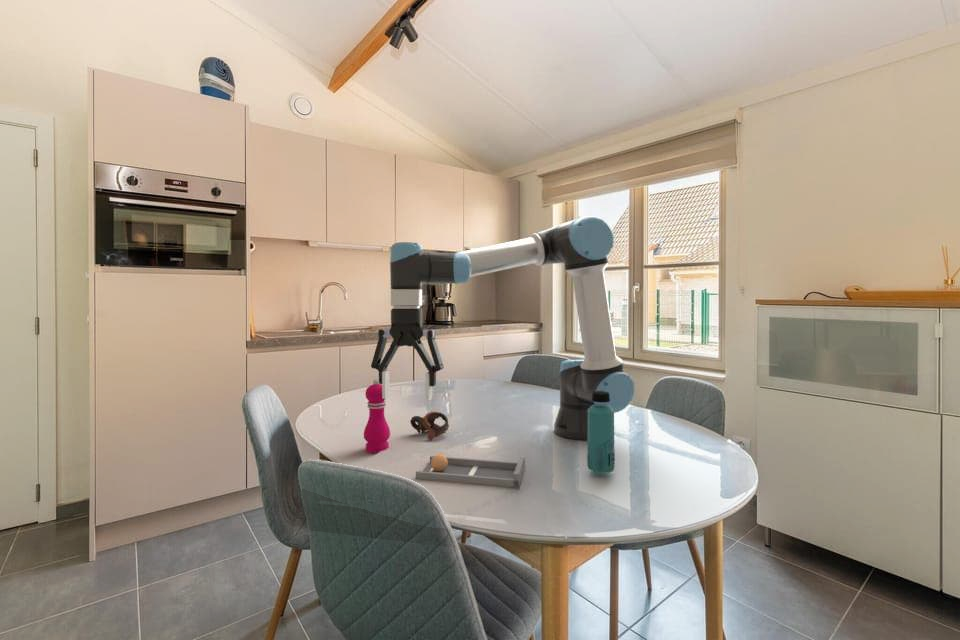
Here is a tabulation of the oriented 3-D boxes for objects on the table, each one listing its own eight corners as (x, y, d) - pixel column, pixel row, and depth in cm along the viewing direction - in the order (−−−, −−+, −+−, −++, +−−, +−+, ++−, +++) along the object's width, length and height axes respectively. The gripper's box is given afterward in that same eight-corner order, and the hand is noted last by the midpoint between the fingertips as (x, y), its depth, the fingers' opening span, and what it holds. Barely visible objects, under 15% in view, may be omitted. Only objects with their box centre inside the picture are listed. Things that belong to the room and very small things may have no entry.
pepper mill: (367, 455, 120) (366, 382, 119) (361, 447, 127) (360, 377, 126) (393, 451, 124) (392, 379, 123) (386, 444, 130) (385, 375, 129)
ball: (449, 468, 110) (449, 452, 110) (444, 474, 106) (444, 458, 106) (434, 467, 111) (433, 451, 110) (428, 473, 107) (428, 456, 107)
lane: (524, 471, 110) (524, 456, 109) (518, 490, 99) (519, 474, 99) (430, 463, 115) (430, 449, 114) (415, 480, 104) (415, 465, 104)
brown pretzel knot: (447, 431, 144) (452, 412, 140) (442, 453, 136) (448, 433, 132) (410, 422, 144) (415, 403, 140) (403, 443, 135) (408, 424, 131)
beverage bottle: (610, 482, 103) (611, 395, 102) (582, 475, 107) (583, 392, 106) (617, 472, 109) (619, 390, 108) (591, 467, 112) (592, 387, 111)
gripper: (456, 307, 109) (456, 397, 110) (369, 307, 114) (370, 393, 115) (448, 308, 102) (448, 404, 103) (355, 307, 107) (356, 399, 108)
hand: (407, 398), depth 109 cm, fingers open, 10 cm apart
